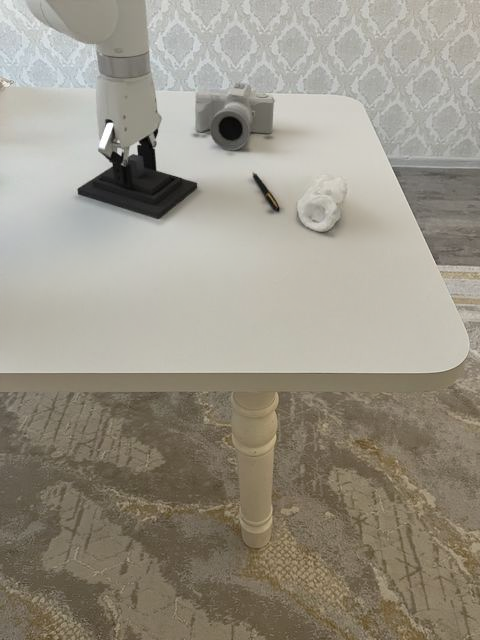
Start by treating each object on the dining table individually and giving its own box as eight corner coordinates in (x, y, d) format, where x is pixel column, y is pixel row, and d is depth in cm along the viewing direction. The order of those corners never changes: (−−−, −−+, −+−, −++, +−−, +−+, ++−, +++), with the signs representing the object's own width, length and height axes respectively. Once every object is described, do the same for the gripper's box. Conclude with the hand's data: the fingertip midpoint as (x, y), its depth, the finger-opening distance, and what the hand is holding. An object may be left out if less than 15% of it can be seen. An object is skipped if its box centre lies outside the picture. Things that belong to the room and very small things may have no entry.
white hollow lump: (318, 194, 103) (351, 161, 97) (336, 251, 98) (373, 220, 92) (280, 181, 97) (313, 146, 92) (298, 240, 93) (334, 208, 87)
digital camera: (183, 160, 118) (168, 110, 111) (209, 131, 127) (197, 83, 121) (260, 157, 112) (250, 104, 105) (282, 126, 121) (274, 76, 115)
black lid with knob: (101, 181, 99) (97, 157, 96) (122, 167, 103) (120, 143, 100) (151, 196, 96) (149, 171, 93) (171, 181, 100) (170, 157, 97)
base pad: (78, 194, 99) (75, 181, 97) (121, 166, 107) (119, 154, 105) (158, 219, 94) (157, 206, 93) (197, 188, 102) (197, 176, 101)
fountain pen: (249, 175, 107) (249, 167, 106) (255, 174, 107) (255, 166, 106) (275, 214, 97) (275, 206, 96) (282, 213, 97) (282, 205, 96)
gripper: (137, 44, 93) (146, 153, 106) (64, 74, 82) (85, 193, 94) (177, 52, 91) (182, 163, 103) (109, 85, 80) (124, 205, 92)
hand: (136, 176), depth 99 cm, fingers closed on black lid with knob, 6 cm apart
